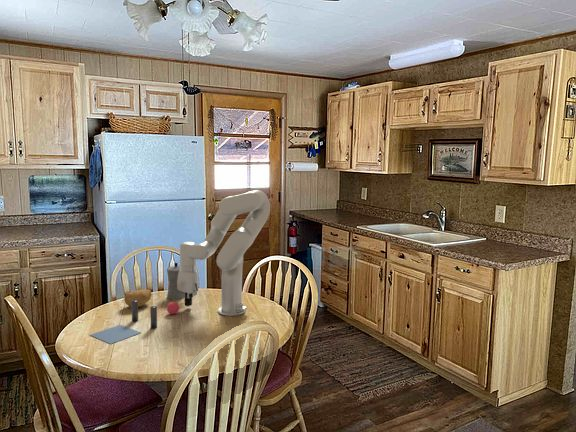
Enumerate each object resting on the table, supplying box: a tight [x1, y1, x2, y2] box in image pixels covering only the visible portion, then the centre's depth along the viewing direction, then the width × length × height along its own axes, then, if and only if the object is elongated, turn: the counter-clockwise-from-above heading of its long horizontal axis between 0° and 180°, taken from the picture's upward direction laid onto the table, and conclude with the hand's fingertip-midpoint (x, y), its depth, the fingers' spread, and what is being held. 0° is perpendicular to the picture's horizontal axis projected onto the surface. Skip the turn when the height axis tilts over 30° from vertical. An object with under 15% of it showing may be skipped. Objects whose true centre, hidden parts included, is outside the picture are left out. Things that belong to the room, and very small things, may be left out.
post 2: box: [149, 305, 158, 330], centre depth 188 cm, size 3×3×9 cm
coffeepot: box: [166, 262, 185, 300], centre depth 228 cm, size 15×9×18 cm, turn 51°
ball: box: [166, 301, 180, 315], centre depth 205 cm, size 6×6×6 cm
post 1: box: [131, 300, 139, 323], centre depth 195 cm, size 3×3×9 cm
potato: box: [123, 288, 152, 308], centre depth 214 cm, size 10×14×8 cm
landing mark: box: [89, 324, 142, 345], centre depth 180 cm, size 14×14×1 cm
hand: (188, 305), depth 213 cm, fingers closed
